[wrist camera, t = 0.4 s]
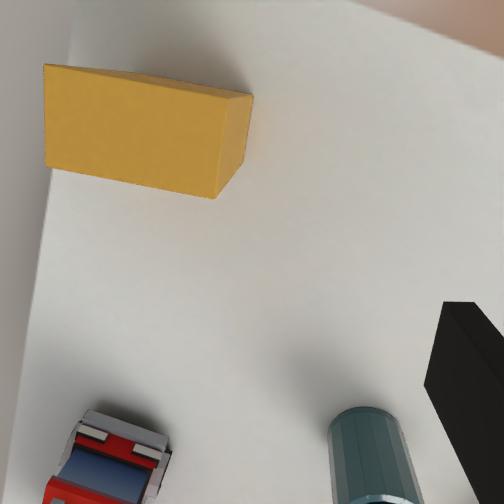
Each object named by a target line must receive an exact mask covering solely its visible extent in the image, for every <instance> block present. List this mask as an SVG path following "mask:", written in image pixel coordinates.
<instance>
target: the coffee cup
mask: <svg viewBox="0 0 504 504" xmlns="http://www.w3.org/2000/svg"><path fill="white" fill-rule="evenodd" d="M328 450H329V463H330V475H331V487H332V500H333V504H425V503H424V500H423V497H422V494H421V490H420V487H419V484H418V480H417V477H416V474H415V470H414V467H413V464H412V461H411V457H410V454H409V451H408V447H407V444H406V441H405V437H404V434H403V432H402V429H401V427H400V425H399V423H398V422H397V421H396V419H395V418H393V417H392V416H391V415H390V414H388V413H386V412H384V411H382V410H380V409H376V408H370V407H359V408H354V409H350V410H347V411H345V412H343V413H341V414H340V415H338V416H337V417H336V418H335V419H334V420H333V422H332V423H331V425H330V427H329V430H328Z"/></svg>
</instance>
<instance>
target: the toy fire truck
mask: <svg viewBox="0 0 504 504" xmlns="http://www.w3.org/2000/svg"><path fill="white" fill-rule="evenodd" d="M168 440H169V437H167V436H164V435H161V434H158V433H155V432H152V431H149V430H147V429H144V428H141V427H138V426H135V425H132V424H130V423H127V422H124V421H121V420H118V419H115V418H113V417H110V416H107V415H104V414H101V413H98V412H95V411H93V410H90V409H89V410H88V411H87V413H86V414H85V416H84V417H83V420H81V421H79V422H78V424H77V425H76V427H75V428H74V430H73V431H72V433H71V436H70V438H69V440H68V442H67V444H66V446H65V449H64V451H63V453H62V456H61V459H60V462H59V466H62V467H63V468H62V470H61V471H60V473H59V474H58V476H54V475H52V477H51V478H50V480H49V482H48V483H47V485H46V489H45V494H44V498H43V503H42V504H145V502H146V500H147V497H148V496H149V497H152V498H156V497H157V495H158V492H159V490H160V487H161V485H162V484H161V483H162V480H163V477H164V474H165V472H166V469H167V466H168V463H169V460H170V458H171V455H172V451H169V450H167V449H165V448H166V445H167V443H168Z"/></svg>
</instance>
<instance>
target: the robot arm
mask: <svg viewBox="0 0 504 504" xmlns="http://www.w3.org/2000/svg"><path fill="white" fill-rule="evenodd" d="M424 387H425V389H426V391H427V393H428V395H429V397H430V400H431V402H432V404H433V406H434V408H435V410H436V412H437V414H438V417H439V419H440V421H441V423H442V425H443V427H444V429H445V431H446V433H447V436H448V438H449V440H450V442H451V444H452V446H453V448H454V450H455V452H456V455H457V457H458V459H459V461H460V463H461V465H462V467H463V469H464V472H465V474H466V476H467V478H468V480H469V482H470V484H471V486H472V488H473V491H474V493H475V495H476V497H477V499H478V501H479V503H480V504H504V337H503V336H502V335H501V333H500V332H499V331H498V330H497V329H496V327H495V326H494V325H493V324H492V323H491V321H490V320H489V319H488V318H487V317H486V315H485V314H484V313H483V312H482V311H481V309H480V308H479V307H478V306H477V305H476V304H475V302H443V306H442V310H441V314H440V318H439V323H438V327H437V331H436V335H435V340H434V344H433V348H432V352H431V356H430V361H429V365H428V369H427V373H426V378H425V382H424Z"/></svg>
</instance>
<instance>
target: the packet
mask: <svg viewBox="0 0 504 504" xmlns="http://www.w3.org/2000/svg"><path fill="white" fill-rule="evenodd" d="M43 68H44V69H43V71H44V116H45V163H46V164H45V165H46V166H47V167H50V168H55V169H60V170H65V171H71V172H76V173H81V174H86V175H91V176H96V177H101V178H106V179H112V180H117V181H122V182H127V183H132V184H137V185H142V186H147V187H153V188H158V189H163V190H168V191H173V192H178V193H183V194H188V195H193V196H199V197H204V198H209V199H215V198H216V197H217V196H218V194H219V193H220V192H221V191H222V189H223V188H224V187H225V185H226V184H227V183H228V181H229V180H230V179H231V177H232V176H233V175H234V174H235V172H236V171H237V170H238V168H239V167H240V166H241V164H242V163H243V159H244V153H245V147H246V140H247V134H248V128H249V122H250V115H251V109H252V103H253V97H254V96H253V95H252V94H247V93H241V92H236V91H230V90H225V89H220V88H214V87H209V86H203V85H198V84H193V83H187V82H182V81H177V80H171V79H166V78H160V77H155V76H150V75H144V74H139V73H133V72H124V71H114V70H104V69H94V68H85V67H75V66H65V65H54V64H44V66H43Z"/></svg>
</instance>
